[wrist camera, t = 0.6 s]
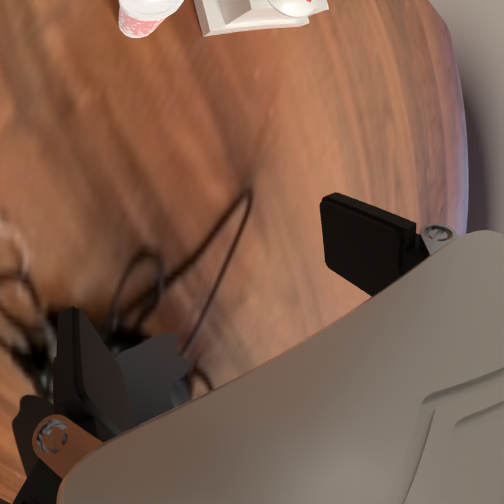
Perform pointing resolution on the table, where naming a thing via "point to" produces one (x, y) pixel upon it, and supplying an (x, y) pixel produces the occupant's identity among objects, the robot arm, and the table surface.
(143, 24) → the beverage cup
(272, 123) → the table surface
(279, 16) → the scale
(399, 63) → the table surface
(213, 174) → the table surface
